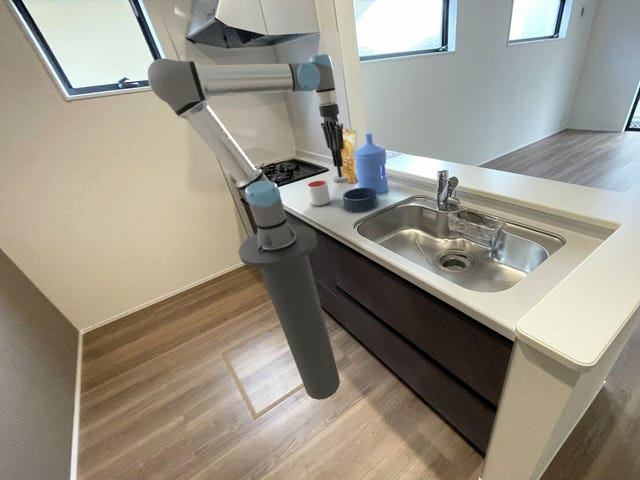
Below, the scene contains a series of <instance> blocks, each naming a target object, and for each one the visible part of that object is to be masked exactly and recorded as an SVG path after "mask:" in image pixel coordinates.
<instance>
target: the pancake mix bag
mask: <svg viewBox="0 0 640 480" xmlns="http://www.w3.org/2000/svg"><path fill="white" fill-rule="evenodd" d="M357 136H358V135H357V131H356V130H354V129H349V128H345V127H343V144H344V149H342V150H341V155H342V162H343V166H341V172H342V175H347V176H348V181H347V182H348V183H349V184H356V183H358V180H357V177H356V176H357V175H356V167H355V166H356V159H355V151H356V147H357V138H358V137H357Z"/></svg>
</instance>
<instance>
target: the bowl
mask: <svg viewBox="0 0 640 480" xmlns="http://www.w3.org/2000/svg"><path fill="white" fill-rule="evenodd" d="M342 202H343V206H344V207H343V208H344V210H345V211H346V212H350V213H366V212H370V211H372V210H375V209H376V208H377V207H379V195H378V194H377V190H375V189H373V188H359V187H357V188H356V187H355V188H351V189H349V190H347V191H345V192H343V194H342Z"/></svg>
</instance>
